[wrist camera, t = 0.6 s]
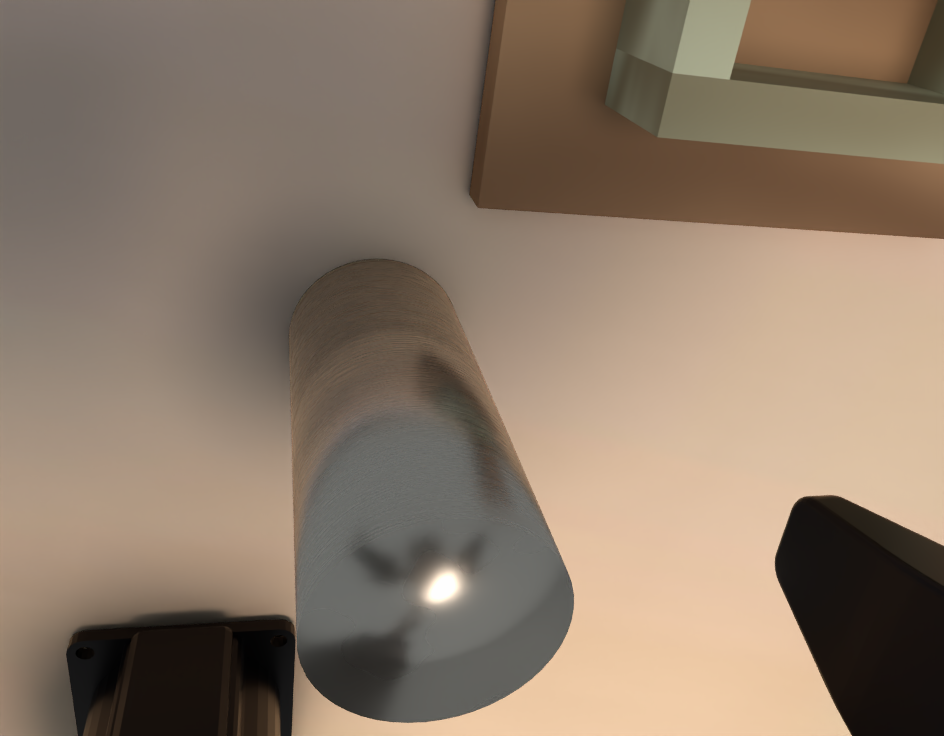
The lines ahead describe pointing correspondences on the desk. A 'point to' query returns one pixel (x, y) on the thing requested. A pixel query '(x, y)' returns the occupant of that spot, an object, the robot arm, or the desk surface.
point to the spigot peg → (410, 508)
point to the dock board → (718, 112)
